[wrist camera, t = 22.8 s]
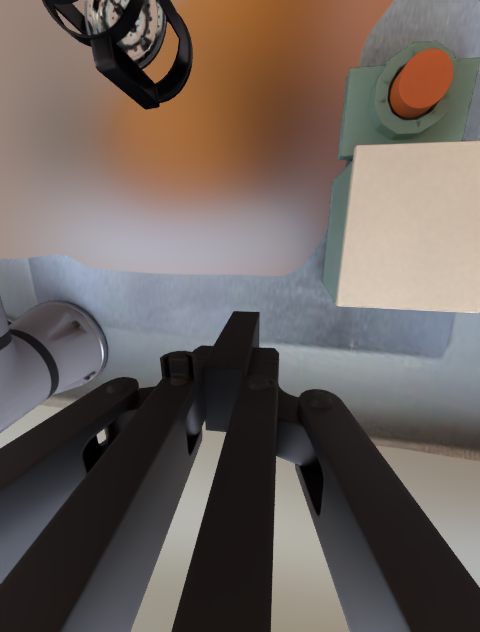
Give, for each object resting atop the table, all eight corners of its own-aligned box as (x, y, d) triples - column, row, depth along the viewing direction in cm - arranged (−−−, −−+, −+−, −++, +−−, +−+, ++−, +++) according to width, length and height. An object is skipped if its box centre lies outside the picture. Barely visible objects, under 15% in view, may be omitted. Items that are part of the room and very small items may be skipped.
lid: (354, 147, 22) (356, 145, 22) (528, 141, 20) (537, 137, 20) (335, 303, 27) (336, 306, 26) (478, 310, 25) (484, 313, 24)
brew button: (385, 119, 27) (394, 109, 25) (394, 65, 26) (403, 50, 24) (433, 117, 27) (446, 107, 24) (444, 61, 25) (459, 45, 23)
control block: (337, 160, 32) (344, 151, 28) (346, 70, 29) (355, 47, 26) (448, 156, 30) (471, 146, 26) (469, 60, 28) (498, 34, 24)
